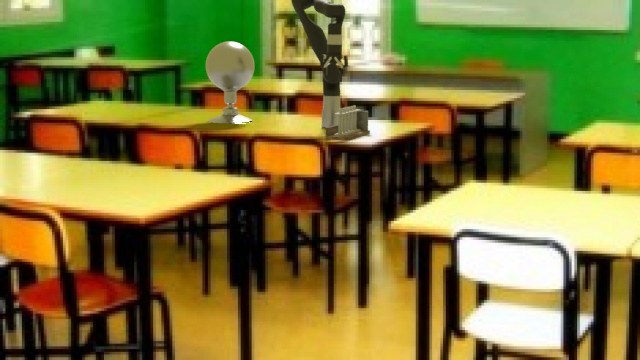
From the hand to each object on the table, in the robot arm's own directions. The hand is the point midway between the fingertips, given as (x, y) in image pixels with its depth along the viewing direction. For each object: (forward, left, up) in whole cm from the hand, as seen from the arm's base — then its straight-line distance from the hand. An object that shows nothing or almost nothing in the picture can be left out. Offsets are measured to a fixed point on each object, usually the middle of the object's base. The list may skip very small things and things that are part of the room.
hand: (334, 75), depth 517 cm
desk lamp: (-75, +30, -30) cm, 86 cm away
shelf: (+11, -6, -30) cm, 32 cm away
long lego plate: (+10, -6, -29) cm, 31 cm away
